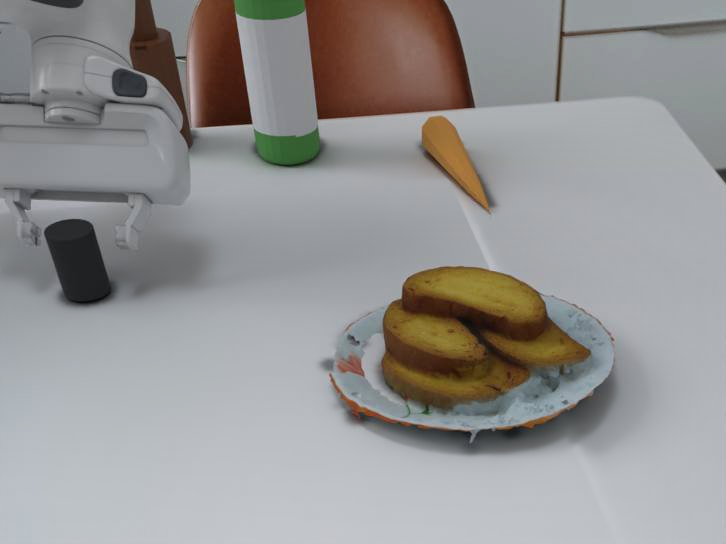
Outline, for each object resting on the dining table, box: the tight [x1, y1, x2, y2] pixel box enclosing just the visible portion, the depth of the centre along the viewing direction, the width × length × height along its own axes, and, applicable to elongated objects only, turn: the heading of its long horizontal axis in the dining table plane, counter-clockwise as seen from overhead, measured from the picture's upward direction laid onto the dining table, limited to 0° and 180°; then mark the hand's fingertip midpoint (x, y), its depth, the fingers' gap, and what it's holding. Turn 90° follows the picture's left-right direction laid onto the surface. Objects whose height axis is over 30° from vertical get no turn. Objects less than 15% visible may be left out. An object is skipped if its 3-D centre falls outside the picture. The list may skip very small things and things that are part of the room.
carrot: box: [421, 115, 492, 213], centre depth 113 cm, size 20×4×4 cm, turn 20°
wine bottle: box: [233, 0, 321, 166], centre depth 107 cm, size 8×8×30 cm
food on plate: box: [328, 265, 616, 444], centre depth 84 cm, size 25×25×7 cm
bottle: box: [130, 0, 193, 150], centre depth 114 cm, size 7×7×16 cm
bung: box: [43, 218, 112, 302], centre depth 91 cm, size 4×4×7 cm
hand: (77, 246), depth 90 cm, fingers open, 8 cm apart
